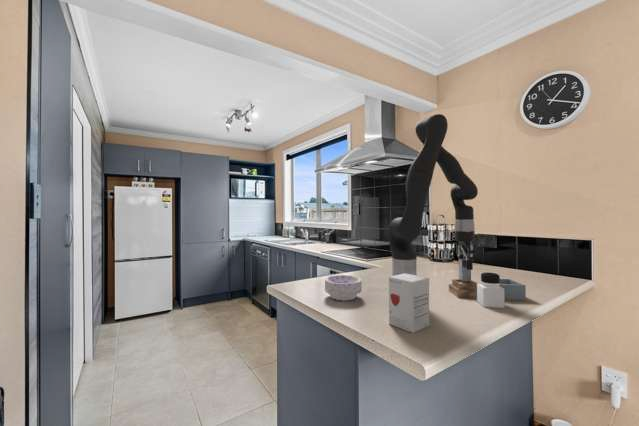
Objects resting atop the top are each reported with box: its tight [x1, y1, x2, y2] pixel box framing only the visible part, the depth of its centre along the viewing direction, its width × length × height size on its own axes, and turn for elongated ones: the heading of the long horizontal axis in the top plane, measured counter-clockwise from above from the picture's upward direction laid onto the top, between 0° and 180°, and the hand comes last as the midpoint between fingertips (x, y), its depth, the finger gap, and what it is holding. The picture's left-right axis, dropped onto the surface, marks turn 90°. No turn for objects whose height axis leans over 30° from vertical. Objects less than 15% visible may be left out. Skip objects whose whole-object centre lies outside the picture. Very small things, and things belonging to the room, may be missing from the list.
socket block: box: [448, 278, 479, 299], centre depth 120 cm, size 10×10×6 cm
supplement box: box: [388, 273, 430, 334], centre depth 86 cm, size 9×9×15 cm
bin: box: [499, 278, 527, 301], centre depth 117 cm, size 11×11×6 cm
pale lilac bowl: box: [324, 274, 363, 302], centre depth 115 cm, size 15×15×8 cm
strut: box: [458, 258, 472, 283], centre depth 120 cm, size 5×5×12 cm
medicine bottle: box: [476, 271, 506, 309], centre depth 105 cm, size 7×7×12 cm
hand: (465, 267), depth 120 cm, fingers open, 8 cm apart
